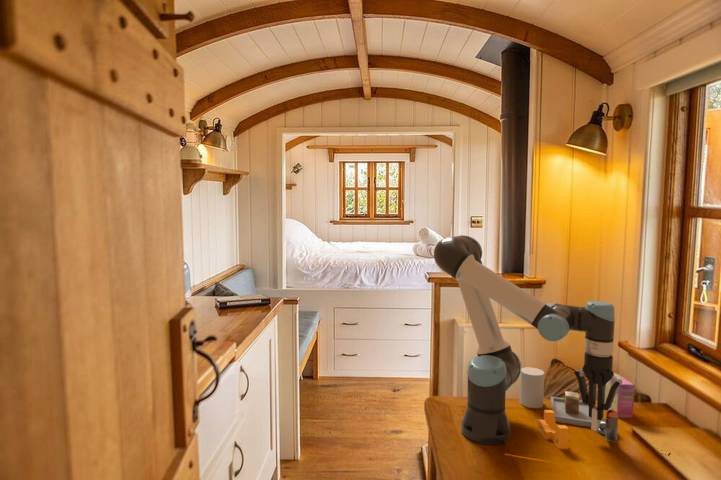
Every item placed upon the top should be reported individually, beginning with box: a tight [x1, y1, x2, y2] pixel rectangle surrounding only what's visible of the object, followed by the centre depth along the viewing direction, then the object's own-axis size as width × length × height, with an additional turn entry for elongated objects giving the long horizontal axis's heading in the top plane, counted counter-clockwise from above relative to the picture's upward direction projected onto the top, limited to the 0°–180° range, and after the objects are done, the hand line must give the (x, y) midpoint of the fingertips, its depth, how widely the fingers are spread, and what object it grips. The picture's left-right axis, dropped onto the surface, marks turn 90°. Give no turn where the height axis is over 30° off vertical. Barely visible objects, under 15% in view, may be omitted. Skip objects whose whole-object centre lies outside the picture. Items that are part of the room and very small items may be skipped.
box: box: [604, 372, 636, 419], centre depth 153 cm, size 10×6×12 cm, turn 179°
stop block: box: [564, 391, 580, 415], centre depth 151 cm, size 4×4×6 cm
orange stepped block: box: [537, 409, 570, 450], centre depth 135 cm, size 12×4×6 cm, turn 178°
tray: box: [550, 396, 592, 428], centre depth 151 cm, size 13×17×2 cm
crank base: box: [595, 428, 605, 437], centre depth 133 cm, size 20×6×1 cm, turn 36°
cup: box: [519, 366, 545, 409], centre depth 159 cm, size 8×8×12 cm
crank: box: [599, 410, 619, 443], centre depth 134 cm, size 13×4×10 cm, turn 159°
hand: (595, 428), depth 133 cm, fingers closed
